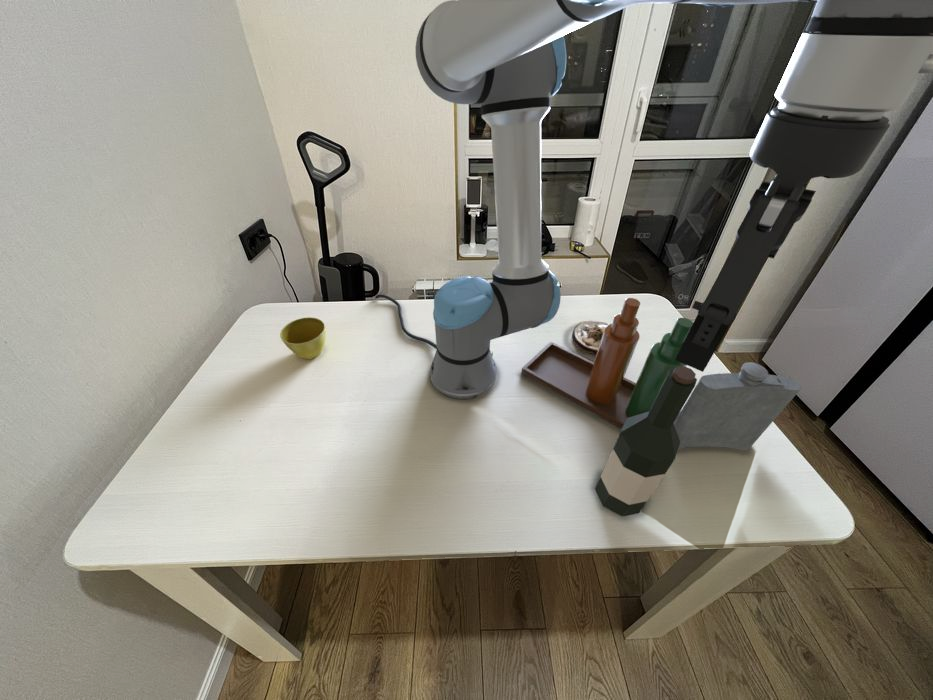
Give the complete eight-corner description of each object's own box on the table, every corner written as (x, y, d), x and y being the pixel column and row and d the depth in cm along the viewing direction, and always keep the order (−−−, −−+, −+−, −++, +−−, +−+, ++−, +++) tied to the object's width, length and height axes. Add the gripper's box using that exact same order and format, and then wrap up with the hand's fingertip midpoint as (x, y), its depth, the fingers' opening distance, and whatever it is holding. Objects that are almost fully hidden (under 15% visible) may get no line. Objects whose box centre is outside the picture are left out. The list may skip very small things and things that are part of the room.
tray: (520, 375, 88) (521, 368, 86) (549, 348, 95) (550, 341, 94) (656, 451, 72) (660, 445, 71) (678, 412, 80) (682, 405, 78)
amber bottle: (580, 394, 83) (607, 303, 67) (594, 378, 86) (622, 288, 70) (608, 408, 79) (643, 317, 63) (620, 391, 83) (657, 300, 67)
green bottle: (619, 415, 78) (658, 323, 62) (632, 397, 82) (672, 306, 66) (650, 432, 75) (700, 339, 59) (662, 412, 79) (711, 321, 63)
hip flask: (667, 450, 73) (712, 378, 59) (660, 433, 76) (701, 360, 62) (751, 452, 72) (815, 380, 59) (740, 434, 75) (799, 362, 62)
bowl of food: (558, 349, 95) (560, 336, 92) (576, 318, 104) (579, 306, 102) (618, 369, 89) (623, 357, 86) (631, 335, 99) (635, 322, 96)
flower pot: (298, 372, 89) (288, 349, 84) (283, 350, 95) (274, 328, 90) (338, 354, 93) (331, 332, 89) (322, 334, 99) (314, 312, 95)
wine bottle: (648, 521, 63) (732, 403, 43) (596, 511, 64) (654, 392, 44) (641, 476, 69) (712, 354, 49) (593, 468, 70) (644, 346, 50)
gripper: (896, 153, 19) (714, 416, 33) (896, 94, 33) (769, 296, 47) (732, 131, 23) (631, 377, 37) (795, 86, 37) (705, 276, 51)
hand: (708, 332), depth 42 cm, fingers open, 13 cm apart
